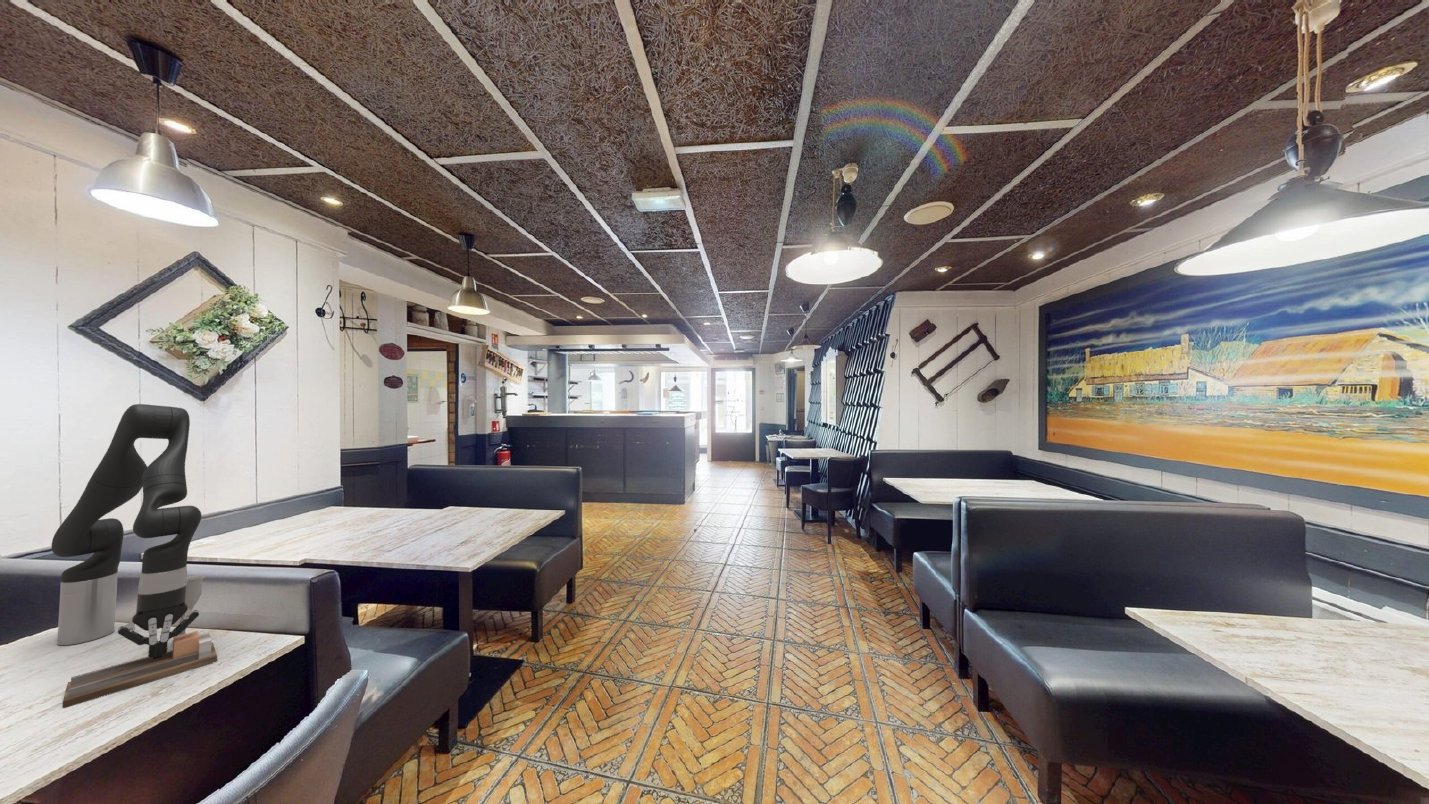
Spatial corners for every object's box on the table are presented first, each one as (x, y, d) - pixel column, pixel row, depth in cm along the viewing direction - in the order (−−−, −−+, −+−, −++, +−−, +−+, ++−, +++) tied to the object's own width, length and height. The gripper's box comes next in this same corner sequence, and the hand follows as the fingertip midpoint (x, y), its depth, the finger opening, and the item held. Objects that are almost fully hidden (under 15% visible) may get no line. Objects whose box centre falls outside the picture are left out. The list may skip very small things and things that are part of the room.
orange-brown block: (172, 656, 109) (173, 637, 110) (196, 649, 113) (197, 630, 113) (173, 663, 106) (174, 643, 107) (198, 656, 110) (199, 636, 110)
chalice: (176, 653, 114) (180, 585, 115) (152, 652, 114) (155, 585, 115) (209, 638, 121) (212, 575, 122) (186, 638, 121) (189, 575, 122)
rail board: (67, 688, 99) (68, 664, 99) (212, 647, 117) (213, 627, 117) (62, 708, 92) (63, 682, 93) (216, 661, 110) (217, 640, 110)
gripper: (202, 576, 114) (197, 641, 114) (118, 591, 104) (112, 663, 103) (205, 583, 110) (199, 651, 109) (117, 599, 99) (110, 675, 98)
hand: (157, 657), depth 106 cm, fingers closed
